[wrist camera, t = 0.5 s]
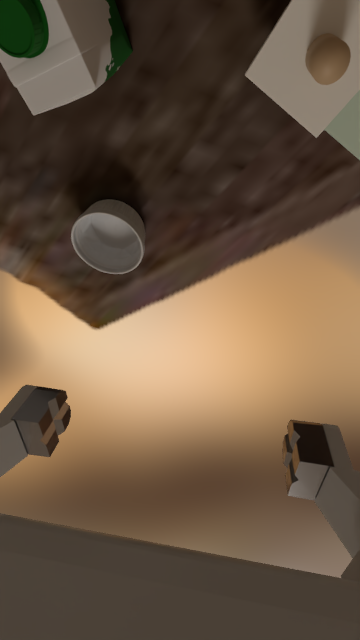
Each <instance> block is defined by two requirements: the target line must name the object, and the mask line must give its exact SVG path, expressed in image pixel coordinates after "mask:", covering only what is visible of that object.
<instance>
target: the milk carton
mask: <svg viewBox="0 0 360 640" xmlns="http://www.w3.org/2000/svg"><path fill="white" fill-rule="evenodd" d="M132 52H133V50H132V48H131V45H130V42H129V39H128V36H127V34H126V31H125V28H124V25H123V22H122V20H121V17H120V14H119V11H118V8H117V5H116V3H115V0H0V62H1V64H2V65H3V67H4V69H5V70H6V72H7V75H8V77H9V78H10V80H11V82H12V83H13V85H14V86H15V87H17V89H18V90H19V92H20V94H21V96H22V97H23V99H24V101H25V102H26V104H27V106H28V107H29V109H30V111H31V112H32V114H33V115H36V114H39V113H42V112H45V111H48V110H50V109H53V108H56V107H59V106H62V105H65V104H68V103H70V102H72V101H75V100H77V99H79V98H81V97H84V96H86V95H88V94H90V93H92V92H93V91H95V90H96V89H97V88H98V87H99V86H101V85H102V84H103V83H104V82H105V81H106V80H108V79H109V78H110V77H111V76H112V75H113V74H114V73H115V72H116V71H117V70H118V69H119V67H120V66H121V65H122V64H123V63H124V61H125V60H126V59H127V58H128V56H129V55H130V54H131V53H132Z"/></svg>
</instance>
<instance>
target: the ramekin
mask: <svg viewBox="0 0 360 640" xmlns="http://www.w3.org/2000/svg"><path fill="white" fill-rule="evenodd" d="M71 240H72V244H73V247H74V249H75V251H76V252H77V254H78V255H79V256H80V258H81V259H82V260H84V261H85V262H86V263H87V264H88V265H90V266H91V267H93V268H95V269H97V270H99V271H102V272H105V273H110V274H123V273H127V272H129V271H131V270H133V269H135V268H136V267H137V266H138V265H139V263H140V262H141V260H142V257H143V255H144V249H145V246H144V242H145V228H144V223H143V221H142V219H141V217H140V216H139V214H138V213H137V212H136V211H135V210H134V209H133V208H132V207H130V206H129V205H127V204H125V203H124V202H121V201H118V200H113V199H106V200H102V201H98V202H95V203H94V204H93V205H91V206H90V207H89V208H88V209H87V210H86V211H85V212H84V213H83V214H81V215H80V216H79V217H78V218H77V220H76V221H75V223H74V225H73V227H72V231H71Z"/></svg>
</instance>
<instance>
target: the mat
mask: <svg viewBox="0 0 360 640" xmlns="http://www.w3.org/2000/svg"><path fill="white" fill-rule="evenodd" d="M324 130H326V131H327V132H328V133H329V134H330V135H331V136H332V137H334V138H335V139H336V140H337V141H338V142H339V143H341V144H342V145H343V146H344V147H345V148H346V149H347V150H349V151H350V152H351V153H352V154H353V155H354V156H355V157H357V158H358V159H359V160H360V90H359V91H358V92H357V93H356V94H355V95H354V97H353V98H352V99H351V100H350V101H349V102H348V103H347V104H346V106H345V107H344V108H343V109H342V110H341V111H340V112H339V113H338V114H337V116H336V117H335V118H334V119H333V120H332V121H331V122H330V123H329V125H328V126H327V127H326V128H325V129H324Z"/></svg>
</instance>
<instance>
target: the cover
mask: <svg viewBox="0 0 360 640" xmlns="http://www.w3.org/2000/svg"><path fill="white" fill-rule="evenodd" d="M245 76H246V77H247V78H248V79H250V80H251V81H252V82H253V83H254V84H255V85H257V86H258V87H259V88H260V89H261V90H262V91H263V92H265V93H266V94H267V95H268V96H269V97H270V98H271V99H273V100H274V101H275V102H276V103H277V104H278V105H279V106H281V107H282V108H283V109H284V110H285V111H286V112H287V113H289V114H290V115H291V116H292V117H293V118H294V119H295V120H297V121H298V122H299V123H300V124H301V125H302V126H303V127H305V128H306V129H307V130H308V131H309V132H310V133H311V134H313V135H314V136H315V137H316V138H317V137H318V136H319V135H320V133H321V132H322V131H323V130H324V129H325V128H326V127H327V126H328V125H329V123H330V122H331V121H332V120H333V119H334V118H335V117H336V116H337V114H338V113H339V112H340V111H341V110H342V109H343V108H344V107H345V106H346V104H347V103H348V102H349V101H350V100H351V99H352V98H353V97H354V95H355V94H356V93H357V92H358V91H359V90H360V0H291V1H290V2H289V4H288V6H287V7H286V9H285V10H284V12H283V13H282V15H281V17H280V18H279V20H278V21H277V23H276V25H275V26H274V28H273V29H272V31H271V33H270V34H269V36H268V37H267V39H266V41H265V42H264V44H263V45H262V47H261V48H260V50H259V52H258V53H257V55H256V56H255V58H254V60H253V61H252V63H251V64H250V66H249V68H248V69H247V71H246V72H245Z"/></svg>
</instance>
